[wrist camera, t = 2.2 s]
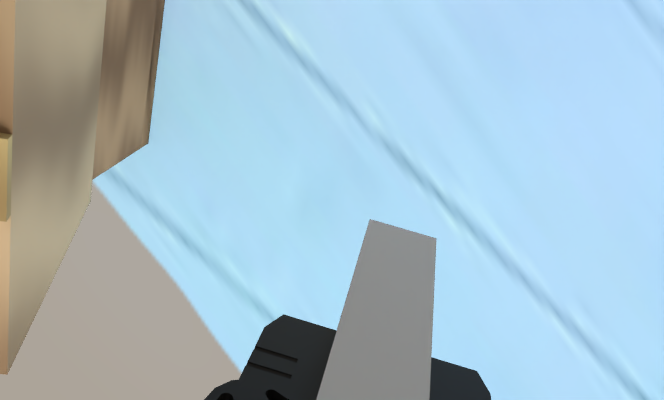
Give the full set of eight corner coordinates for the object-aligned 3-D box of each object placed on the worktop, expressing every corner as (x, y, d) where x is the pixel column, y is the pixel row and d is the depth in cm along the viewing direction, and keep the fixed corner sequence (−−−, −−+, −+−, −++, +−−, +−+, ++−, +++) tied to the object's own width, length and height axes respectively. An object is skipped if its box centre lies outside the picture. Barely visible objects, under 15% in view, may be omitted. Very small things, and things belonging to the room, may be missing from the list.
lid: (-61, -118, 11) (12, -101, 11) (76, -113, 20) (114, -104, 21) (-49, 378, 16) (3, 382, 16) (58, 197, 25) (90, 201, 25)
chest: (-41, -147, 28) (-188, -175, 21) (175, -91, 27) (90, -103, 21) (-38, 90, 32) (-158, 125, 26) (148, 143, 31) (71, 193, 25)
